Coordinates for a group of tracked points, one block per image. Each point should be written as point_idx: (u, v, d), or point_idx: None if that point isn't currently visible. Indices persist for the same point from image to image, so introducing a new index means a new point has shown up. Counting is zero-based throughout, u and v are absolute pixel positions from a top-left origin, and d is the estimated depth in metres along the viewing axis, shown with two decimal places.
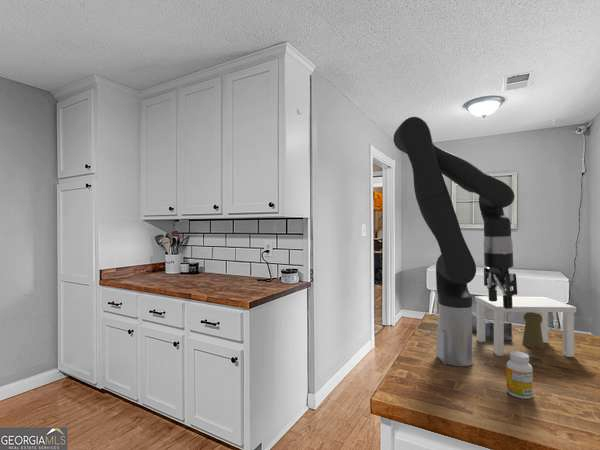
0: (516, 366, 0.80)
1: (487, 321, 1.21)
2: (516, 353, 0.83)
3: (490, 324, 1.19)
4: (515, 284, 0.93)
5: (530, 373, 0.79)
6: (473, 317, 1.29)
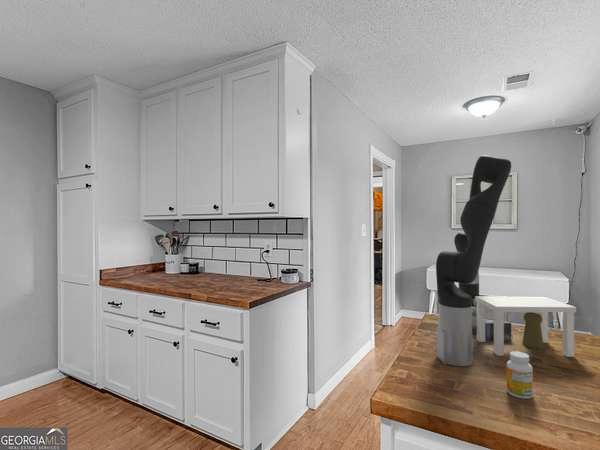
0: (516, 366, 0.80)
1: (487, 321, 1.21)
2: (516, 353, 0.83)
3: (490, 324, 1.19)
4: None
5: (530, 373, 0.79)
6: (472, 317, 1.29)
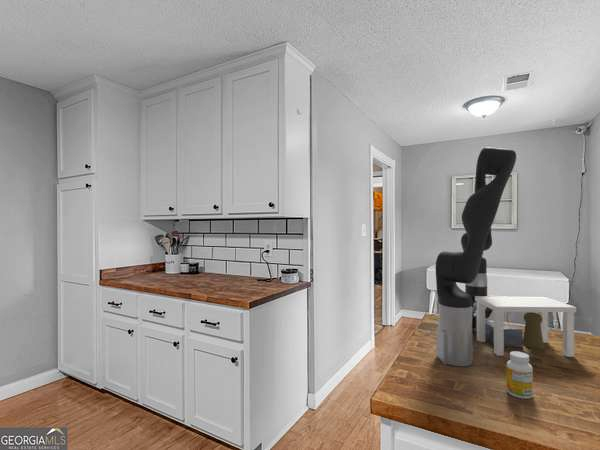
0: (516, 366, 0.80)
1: None
2: (516, 353, 0.83)
3: None
4: None
5: (530, 373, 0.79)
6: None
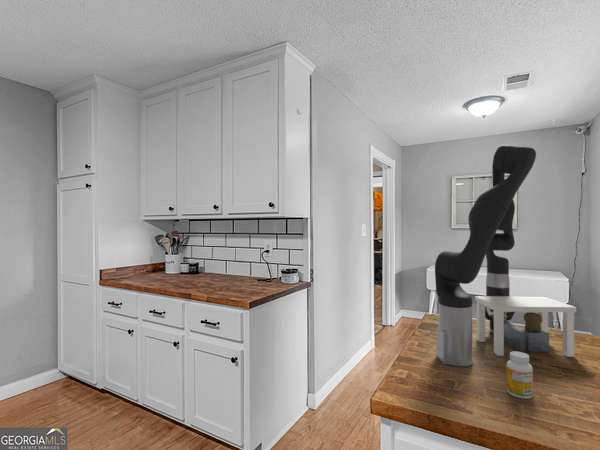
0: (516, 366, 0.80)
1: (521, 331, 1.10)
2: (516, 353, 0.83)
3: (525, 334, 1.08)
4: None
5: (530, 373, 0.79)
6: None
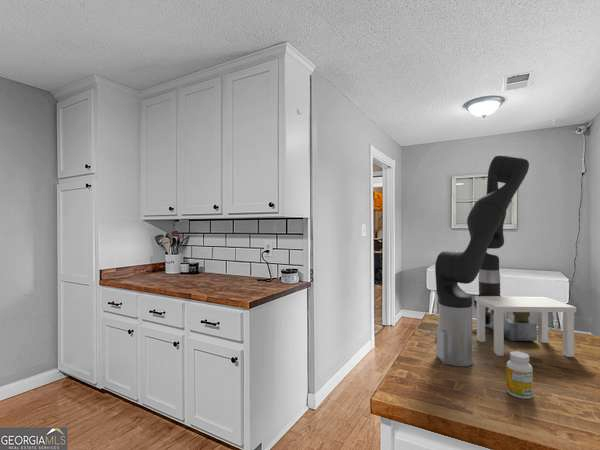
0: (516, 366, 0.80)
1: (510, 321, 1.18)
2: (516, 353, 0.83)
3: (514, 324, 1.16)
4: None
5: (530, 373, 0.79)
6: None
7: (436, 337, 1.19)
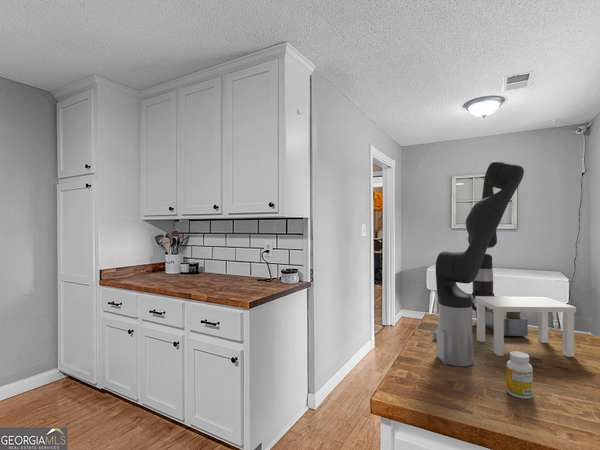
0: (516, 366, 0.80)
1: None
2: (516, 353, 0.83)
3: (506, 320, 1.21)
4: None
5: (530, 373, 0.79)
6: (488, 314, 1.31)
7: (433, 336, 1.20)
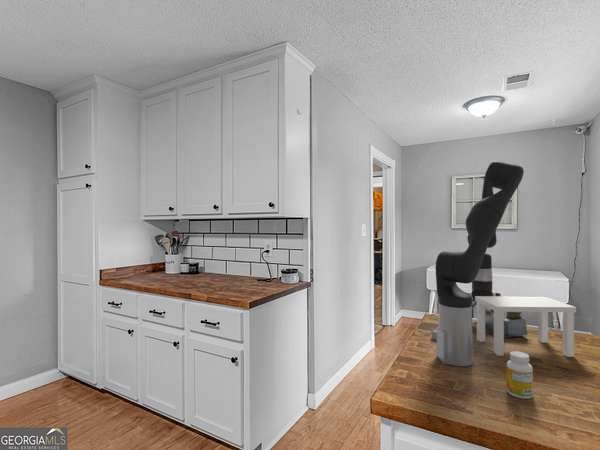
0: (516, 366, 0.80)
1: None
2: (516, 353, 0.83)
3: (504, 322, 1.20)
4: None
5: (530, 373, 0.79)
6: (486, 316, 1.31)
7: (432, 336, 1.21)
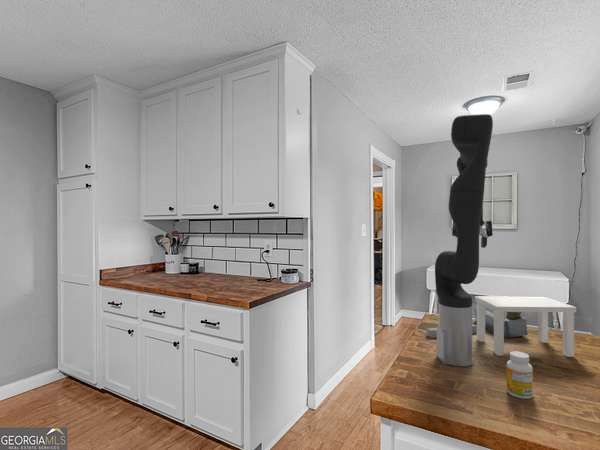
0: (516, 366, 0.80)
1: None
2: (516, 353, 0.83)
3: (505, 322, 1.20)
4: None
5: (530, 373, 0.79)
6: (486, 316, 1.30)
7: (427, 333, 1.23)
